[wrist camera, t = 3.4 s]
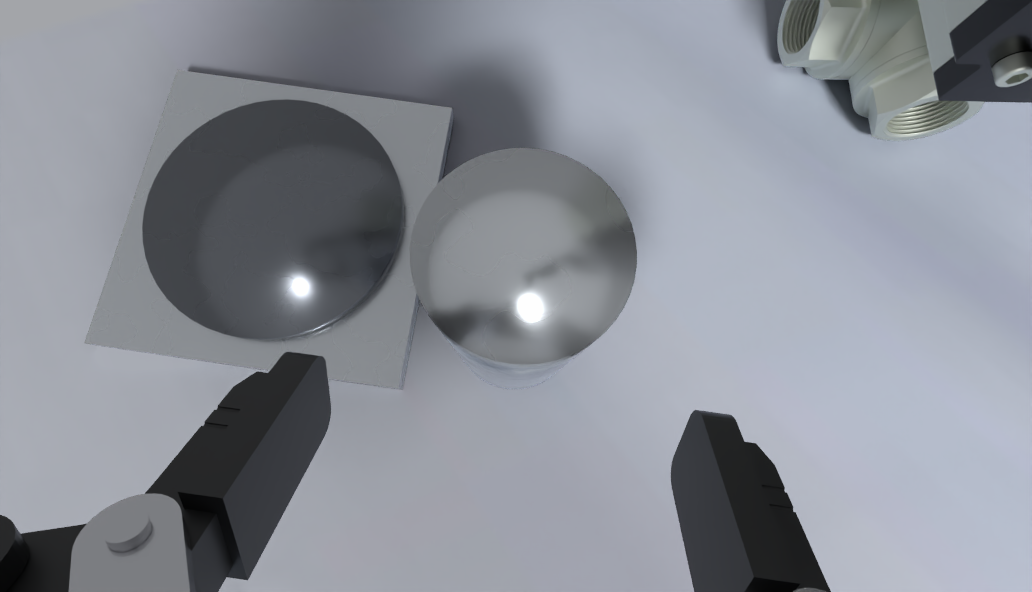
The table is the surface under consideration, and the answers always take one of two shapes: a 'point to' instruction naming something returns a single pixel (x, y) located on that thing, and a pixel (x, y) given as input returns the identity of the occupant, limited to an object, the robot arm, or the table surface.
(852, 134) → the table surface
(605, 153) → the table surface
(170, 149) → the flange
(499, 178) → the grey cylinder
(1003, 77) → the ball valve
